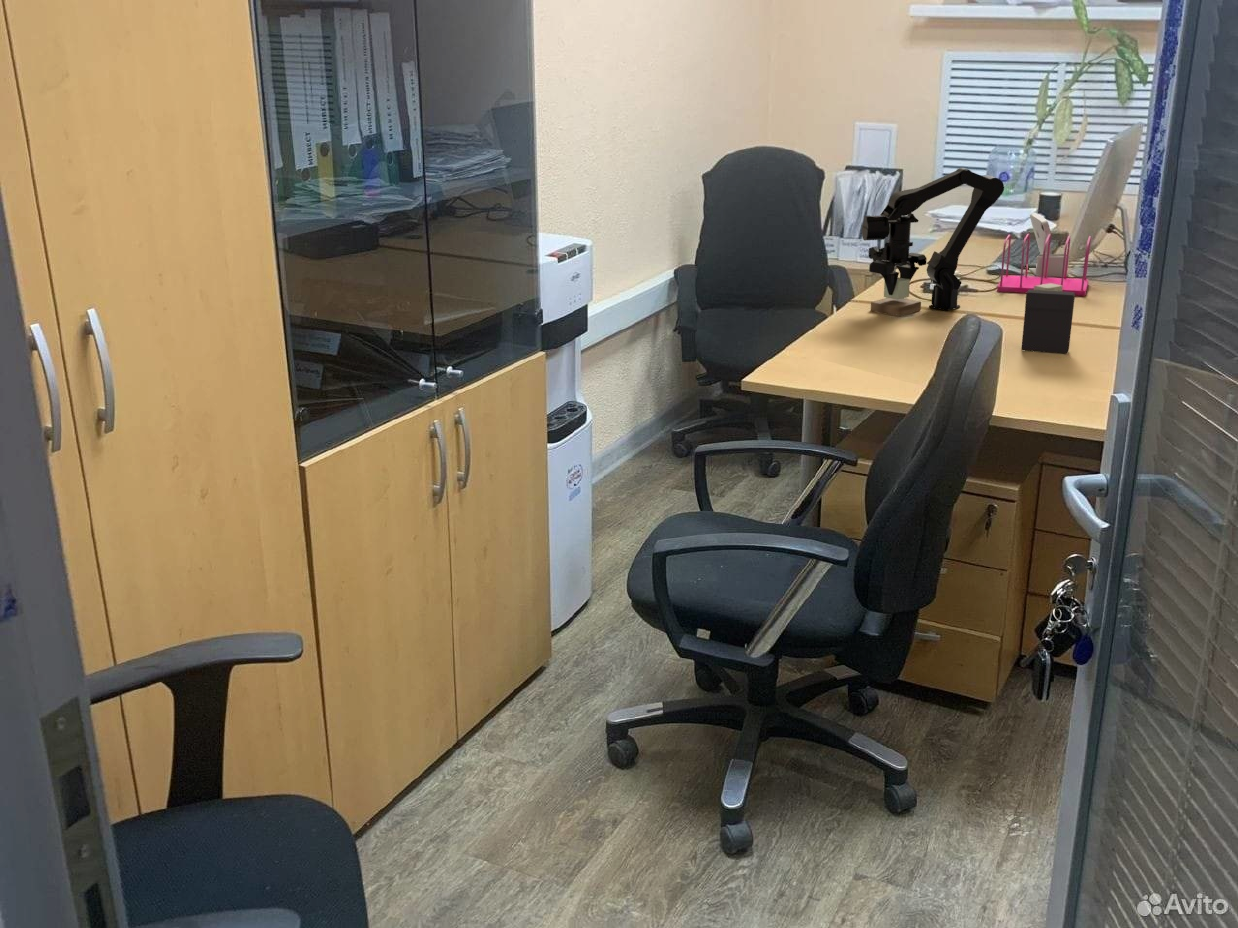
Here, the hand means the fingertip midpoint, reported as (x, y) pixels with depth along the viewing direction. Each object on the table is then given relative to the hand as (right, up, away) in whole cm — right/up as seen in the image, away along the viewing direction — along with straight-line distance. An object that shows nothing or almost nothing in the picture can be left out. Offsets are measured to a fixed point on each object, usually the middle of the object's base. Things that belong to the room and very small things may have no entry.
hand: (896, 293), depth 329 cm
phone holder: (+59, +13, +44) cm, 75 cm away
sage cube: (0, -1, 0) cm, 1 cm away
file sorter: (+50, +4, +22) cm, 55 cm away
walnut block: (0, -5, +2) cm, 6 cm away
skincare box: (+33, -14, -24) cm, 43 cm away
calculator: (+27, -21, -42) cm, 54 cm away
